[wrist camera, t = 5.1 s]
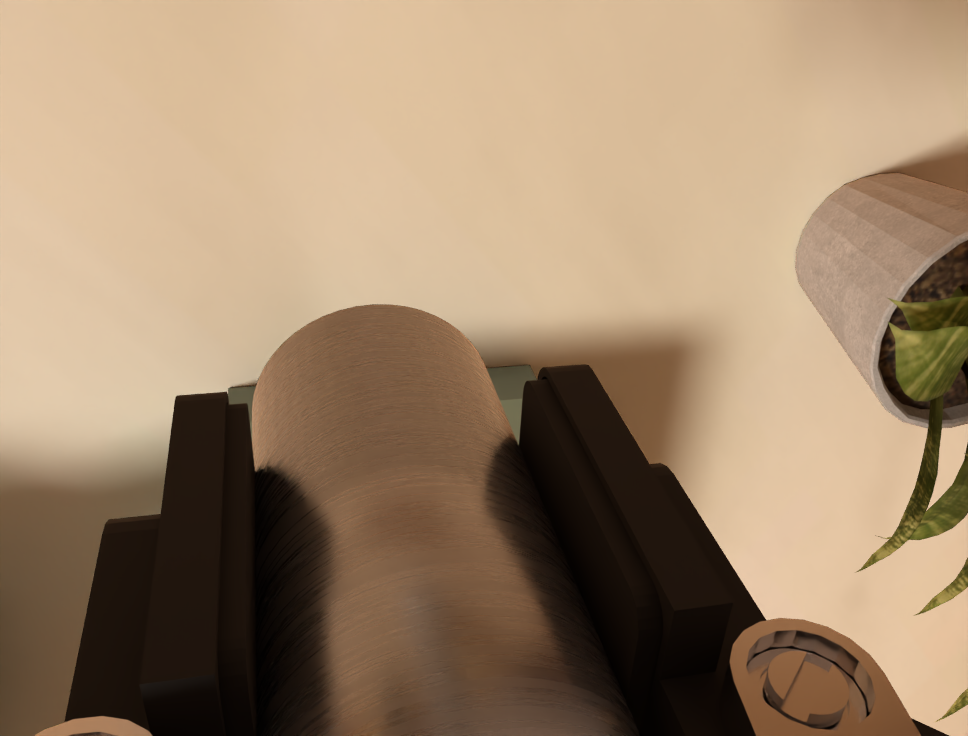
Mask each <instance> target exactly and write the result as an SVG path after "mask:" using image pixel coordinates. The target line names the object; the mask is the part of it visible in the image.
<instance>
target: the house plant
mask: <svg viewBox="0 0 968 736" xmlns="http://www.w3.org/2000/svg"><path fill="white" fill-rule="evenodd" d="M795 268H796V272H797V277H798V281H799V284H800V285H801V287H802V289H803V290H804V292H805V293H806V295H807V296H808V298H809V299H810V301H811V302H812V304H813V305H814V307H815V308H816V309H817V311H818V312H819V314H820V315H821V317H822V318H823V320H824V321H825V323H826V324H827V325H828V327H829V328H830V330H831V331H832V333H833V334H834V336H835V337H836V339H837V340H838V342H839V343H840V344H841V346H842V347H843V349H844V350H845V352H846V353H847V355H848V356H849V358H850V359H851V360H852V362H853V363H854V365H855V366H856V368H857V369H858V371H859V372H860V374H861V375H862V376H863V378H864V379H865V381H866V382H867V384H868V385H869V387H870V388H871V390H872V391H873V392H874V394H875V395H876V397H877V398H878V400H879V401H880V403H881V404H882V406H883V407H884V408H885V410H887V411H888V412H889V413H891V414H892V415H894V416H895V417H896V418H898V419H899V420H901V421H902V422H905V423H909V424H913V425H916V426H920V427H924V428H928V434H927V439H926V444H925V449H924V454H923V458H922V462H921V467H920V471H919V475H918V478H917V482H916V485H915V489H914V491H913V493H912V496H911V498H910V501H909V503H908V505H907V508H906V510H905V512H904V515H903V517H902V519H901V522H900V524H899V526H898V528H897V529H896V531H895V533H894V534H893V536H892V537H888V538H885V539H889V540H888V541H887V542H886V543H885V544H884V545H883V546H882V547H881V548H880V549H878V550H877V551H876V552H875V553H874V554H872V556H871V557H870V558H869V559H868V561H867V562H866V563H865V565H864V566H863V567H862V568H861V569H860V570H859V571H861V570H863V569H865V568H867V567H869V566H871V565H872V564H874V563H876V562H878V561H879V560H881V559H883V558H885V557H887V556H889V555H890V554H892V553H893V552H894V551H896V550H897V549H898V548H900V547H901V546H902V545H903V544H904V543H905V542H906V541H907V540H922V539H925V538H929V537H933V536H937V535H939V534H941V533H943V532H946V531H948V530H950V529H952V528H953V527H954V526H956V525H957V524H958V523H959V522H960V521H961V520H962V519H963V518H964V517H965V516H966V515H967V513H968V444H967V449H966V454H965V453H964V454H965V459H964V462H963V464H962V466H961V468H960V470H959V472H958V474H957V477H956V479H955V481H954V483H953V485H952V486H951V487H950V488H949V489H948V490H947V491H946V492H945V493H944V494H943V495H942V497H941V498H940V499H939V500H938V501H937V502H936V503H935V504H933V505H932V506H931V507H930V508H929V509H928V510H927V507H928V505H929V502H930V499H931V496H932V493H933V489H934V485H935V481H936V477H937V471H938V459H939V447H940V438H941V430H942V428H952V427H956V426H960V425H964V424H968V193H967V192H964V191H960V190H957V189H953V188H950V187H946V186H943V185H939V184H936V183H932V182H929V181H926V180H922V179H919V178H915V177H912V176H908V175H905V174H901V173H887V174H878V175H873V176H869V177H864V178H861V179H858V180H856V181H853V182H850V183H848V184H845V185H843V186H842V187H841V188H839V189H838V190H837V191H835V192H834V193H833V194H831V195H830V196H829V197H828V198H827V199H826V200H825V201H824V202H823V203H822V204H821V205H820V206H819V208H818V209H817V210H816V211H815V212H814V213H813V215H812V216H811V218H810V220H809V221H808V223H807V225H806V227H805V228H804V230H803V232H802V235H801V238H800V241H799V244H798V247H797V251H796V266H795ZM926 510H927V511H926ZM875 536H876V535H875ZM878 537H879V536H878ZM881 538H883V537H881ZM857 572H858V571H857ZM855 573H856V572H855ZM967 587H968V558H967V560H966V562H965V565H964V567H963V568H962V570H961V571H960V573H959V574H958V576H957V578H956V579H955V580H954V581H953V582H952V583H951V584H950V585H949V586H947V587H946V588H945V589H944V590H943V591H941V592H940V593H939V594H938V595H936V596H935V597H934V598H933V599H932V600H931V601H930V602H929V603H928V604H927V605H926V606H925V607H924V609H923V610H922V611H921V612H920V613H918V614H921V613H924V612H926V611H929V610H931V609H933V608H935V607H937V606H939V605H941V604H943V603H945V602H947V601H949V600H951V599H952V598H954V597H955V596H957V595H958V594H959V593H961V592H962V591H964V590H965V589H966V588H967ZM918 614H916V615H918ZM966 705H968V689H967V690H965V691H964V692H963V693H962V694H961V695H960V696H959V698H958V699H957V700H956V701H955V703H954V704H953V705H952V706H951V708H950V709H949V710H948V711H947V713H946V714H945V715H944V716H943V717H942V718H941V719H944V718H946V717H947V716H949V715H951V714H953V713H955V712H956V711H958V710H960V709H961V708H963V707H964V706H966ZM941 719H939V720H941ZM939 720H937V721H939ZM937 721H936V722H937Z"/></svg>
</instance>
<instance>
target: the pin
mask: <svg viewBox="0 0 968 736" xmlns="http://www.w3.org/2000/svg"><path fill="white" fill-rule="evenodd" d="M252 447H253V457H254V466H255V516H256V630H257V736H640V734H639V731H638V729H637V726H636V724H635V722H634V719H633V717H632V714H631V712H630V710H629V707H628V705H627V703H626V700H625V698H624V695H623V693H622V691H621V688H620V686H619V683H618V681H617V679H616V676H615V674H614V672H613V669H612V667H611V664H610V662H609V660H608V657H607V655H606V652H605V650H604V648H603V645H602V643H601V641H600V638H599V636H598V633H597V631H596V629H595V626H594V624H593V621H592V619H591V617H590V614H589V612H588V610H587V607H586V605H585V602H584V600H583V598H582V595H581V593H580V590H579V588H578V586H577V583H576V581H575V579H574V576H573V574H572V571H571V569H570V567H569V564H568V562H567V559H566V557H565V555H564V552H563V550H562V548H561V545H560V543H559V540H558V538H557V536H556V533H555V531H554V528H553V526H552V524H551V521H550V519H549V517H548V514H547V512H546V509H545V507H544V505H543V502H542V500H541V497H540V495H539V493H538V490H537V488H536V486H535V483H534V481H533V478H532V476H531V474H530V471H529V469H528V466H527V464H526V462H525V459H524V457H523V455H522V452H521V450H520V447H519V445H518V443H517V440H516V438H515V436H514V433H513V431H512V428H511V426H510V424H509V421H508V419H507V416H506V414H505V412H504V409H503V407H502V405H501V402H500V400H499V397H498V395H497V393H496V390H495V388H494V385H493V383H492V381H491V378H490V376H489V374H488V371H487V369H486V366H485V364H484V362H483V360H482V358H481V356H480V355H479V353H478V351H477V350H476V348H475V347H474V346H473V344H472V343H471V342H470V341H469V340H468V339H467V338H466V337H465V336H464V335H463V334H462V333H461V332H460V331H459V330H458V329H456V328H455V327H453V326H452V325H451V324H449V323H448V322H446V321H444V320H442V319H441V318H439V317H437V316H435V315H432V314H430V313H427V312H424V311H422V310H418V309H414V308H410V307H406V306H398V305H364V306H356V307H352V308H347V309H343V310H339V311H336V312H334V313H331V314H328V315H325V316H323V317H321V318H319V319H317V320H315V321H313V322H311V323H309V324H307V325H306V326H304V327H303V328H301V329H300V330H298V331H297V332H295V333H294V334H293V335H292V336H291V337H289V338H288V339H287V340H286V341H285V342H284V343H283V344H282V345H281V346H280V347H279V348H278V349H277V350H276V351H275V353H274V354H273V355H272V356H271V358H270V359H269V361H268V362H267V364H266V365H265V367H264V369H263V371H262V373H261V375H260V377H259V379H258V382H257V385H256V388H255V392H254V396H253V403H252Z"/></svg>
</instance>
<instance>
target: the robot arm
mask: <svg viewBox="0 0 968 736" xmlns="http://www.w3.org/2000/svg"><path fill="white" fill-rule="evenodd" d="M519 447H520V450H521V452H522V455H523V457H524V459H525V462H526V464H527V466H528V469H529V471H530V474H531V476H532V478H533V481H534V483H535V486H536V488H537V490H538V493H539V495H540V497H541V500H542V502H543V505H544V507H545V509H546V512H547V514H548V517H549V519H550V521H551V524H552V526H553V528H554V531H555V533H556V536H557V538H558V540H559V543H560V545H561V548H562V550H563V552H564V555H565V557H566V559H567V562H568V564H569V567H570V569H571V571H572V574H573V576H574V579H575V581H576V583H577V586H578V588H579V590H580V593H581V595H582V598H583V600H584V602H585V605H586V607H587V610H588V612H589V614H590V617H591V619H592V621H593V624H594V626H595V629H596V631H597V633H598V636H599V638H600V641H601V643H602V645H603V648H604V650H605V652H606V655H607V657H608V660H609V662H610V664H611V667H612V669H613V672H614V674H615V676H616V679H617V681H618V683H619V686H620V688H621V691H622V693H623V695H624V698H625V700H626V703H627V705H628V707H629V710H630V712H631V714H632V717H633V719H634V722H635V724H636V726H637V729H638V731H639V734H640V736H949V735H946V734H944V733H942V732H940V731H938V730H936V729H933V728H931V727H929V726H927V725H925V724H923V723H920V722H918V721H916V720H914V719H912V718H911V717H910V716H909V714H908V712H907V711H906V709H905V707H904V706H903V704H902V702H901V701H900V699H899V697H898V695H897V694H896V692H895V690H894V689H893V687H892V685H891V684H890V682H889V680H888V678H887V677H886V675H885V673H884V672H883V671H882V670H881V668H880V667H879V666H878V664H877V663H876V662H875V661H874V659H873V658H872V657H871V655H870V654H869V653H867V652H866V651H865V650H864V649H862V648H861V647H860V646H859V645H857V644H856V643H855V642H854V641H852V640H851V639H850V638H848V637H846V636H844V635H842V634H840V633H838V632H836V631H834V630H833V629H831V628H829V627H826V626H823V625H820V624H816V623H813V622H809V621H806V620H800V619H787V618H778V619H772V620H767V621H766V619H765V618H764V616H763V614H762V613H761V611H760V610H759V608H758V607H757V605H756V603H755V602H754V600H753V599H752V597H751V595H750V594H749V592H748V591H747V589H746V588H745V586H744V584H743V583H742V581H741V580H740V578H739V576H738V575H737V573H736V572H735V570H734V569H733V567H732V565H731V564H730V562H729V561H728V559H727V558H726V556H725V554H724V553H723V551H722V550H721V548H720V546H719V545H718V543H717V542H716V540H715V539H714V537H713V535H712V534H711V532H710V531H709V529H708V528H707V526H706V524H705V523H704V521H703V520H702V518H701V516H700V515H699V513H698V512H697V510H696V509H695V507H694V505H693V504H692V502H691V501H690V499H689V497H688V496H687V494H686V493H685V491H684V490H683V488H682V486H681V485H680V483H679V482H678V480H677V479H676V477H675V475H674V474H673V473H672V472H671V470H670V469H669V468H668V467H667V466H665V465H663V464H661V463H658V464H649V463H648V461H647V459H646V458H645V456H644V454H643V453H642V451H641V449H640V448H639V446H638V445H637V443H636V441H635V440H634V438H633V436H632V435H631V433H630V431H629V430H628V428H627V426H626V425H625V423H624V421H623V420H622V418H621V416H620V415H619V413H618V411H617V410H616V408H615V407H614V405H613V403H612V402H611V400H610V398H609V397H608V395H607V393H606V392H605V390H604V388H603V387H602V385H601V383H600V382H599V380H598V378H597V377H596V375H595V374H594V372H593V370H592V369H591V368H590V366H589V365H585V364H584V365H571V366H557V367H544V368H542V369H541V370H540V372H539V375H538V380H530V381H526V382H525V385H524V389H523V399H522V411H521V424H520V437H519ZM34 736H257V630H256V516H255V466H254V457H253V447H252V438H251V429H250V419H249V411H248V405H247V403H241V404H229V399H228V394H227V392H219V393H206V394H193V395H180V396H176V399H175V404H174V412H173V420H172V428H171V436H170V444H169V452H168V460H167V468H166V476H165V484H164V492H163V500H162V508H161V514H158V515H148V516H138V517H128V518H119V519H109V520H108V521H107V523H106V524H105V527H104V530H103V534H102V538H101V543H100V548H99V553H98V558H97V563H96V568H95V573H94V578H93V583H92V588H91V593H90V598H89V603H88V608H87V613H86V618H85V623H84V628H83V633H82V638H81V643H80V648H79V653H78V658H77V663H76V667H75V672H74V677H73V682H72V687H71V692H70V697H69V702H68V707H67V712H66V717H65V722H64V723H61V724H59V725H56V726H53V727H50V728H47V729H44V730H43V731H41V732H39V733H38V734H36V735H34Z"/></svg>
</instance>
